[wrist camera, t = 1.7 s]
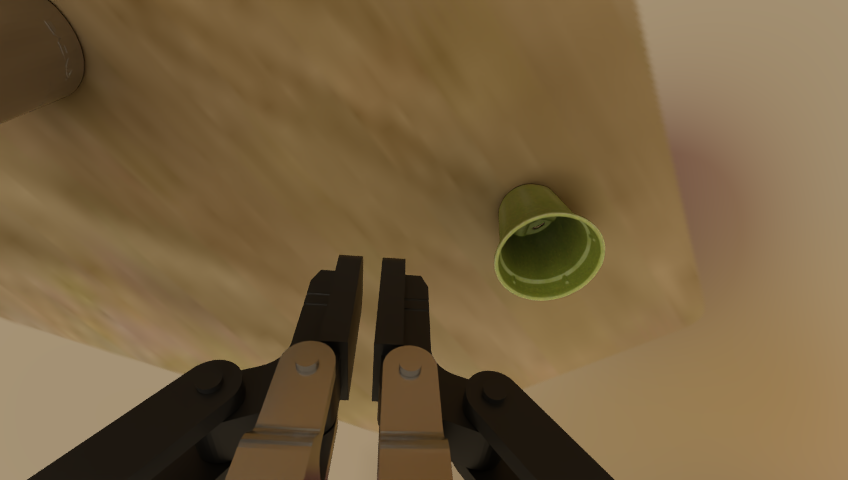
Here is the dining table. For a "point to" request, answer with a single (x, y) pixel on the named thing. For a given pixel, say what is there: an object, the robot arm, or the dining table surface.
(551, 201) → the plant pot
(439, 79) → the dining table surface
